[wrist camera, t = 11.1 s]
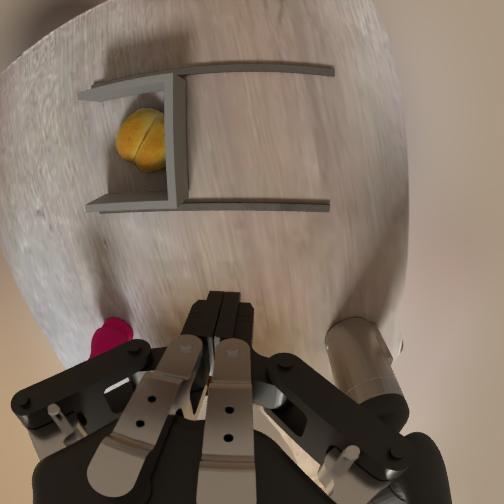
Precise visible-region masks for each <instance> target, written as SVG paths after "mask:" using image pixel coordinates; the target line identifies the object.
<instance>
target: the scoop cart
mask: <svg viewBox="0 0 504 504" xmlns="http://www.w3.org/2000/svg"><path fill="white" fill-rule="evenodd" d="M156 91H164V121H165V154H166V173H167V189H168V190H165V191H145V192H128V193H114V194H105V195H103V196H101V197H99V198H98V199H96V200H94V201H92V202H90V203H88V204H86V205H85V207H86V212H100V211H120V210H145V209H177V208H178V207H179V206H180V205H181V204H182V203H183V202H184V201H185V200H186V199H187V198H188V197H189V193H188V173H187V145H186V81H185V80H184V79H182V78H181V77H179V76H177V75H176V74H174V73H167V74H160V75H154V76H148V77H142V78H137V79H131V80H126V81H122V82H117V83H113V84H108V85H104V86H100V87H96V88H93V89H89V90H85V91H82V92H79V93H78V100H85V101H97V102H102V101H106V100H111V99H116V98H121V97H126V96H131V95H137V94H143V93H149V92H156Z"/></svg>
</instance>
